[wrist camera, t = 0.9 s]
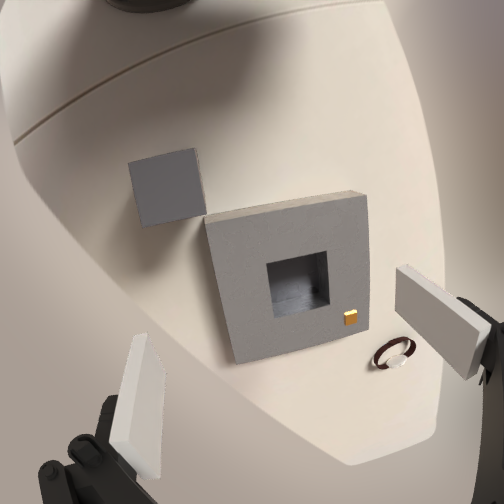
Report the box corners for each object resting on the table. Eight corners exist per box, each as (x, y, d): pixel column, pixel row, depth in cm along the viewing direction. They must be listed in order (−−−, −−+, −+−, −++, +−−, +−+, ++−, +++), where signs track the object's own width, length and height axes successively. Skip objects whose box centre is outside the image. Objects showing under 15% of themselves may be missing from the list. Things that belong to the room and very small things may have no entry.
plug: (152, 159, 32) (128, 163, 21) (196, 149, 33) (194, 147, 21) (160, 202, 34) (142, 228, 23) (204, 193, 34) (206, 214, 23)
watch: (372, 367, 47) (382, 380, 44) (370, 348, 46) (380, 361, 42) (409, 348, 48) (420, 359, 44) (408, 328, 46) (420, 339, 43)
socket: (204, 216, 35) (204, 224, 31) (350, 190, 37) (367, 195, 33) (232, 346, 41) (236, 366, 37) (356, 315, 43) (369, 330, 39)
